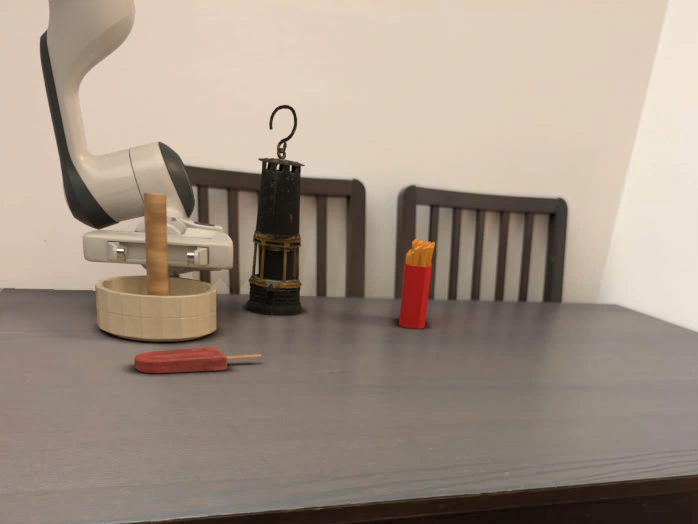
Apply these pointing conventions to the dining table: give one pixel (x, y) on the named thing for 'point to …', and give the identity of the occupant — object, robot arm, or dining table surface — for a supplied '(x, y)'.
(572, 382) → the dining table surface
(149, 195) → the stirring stick
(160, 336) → the bowl
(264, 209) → the lantern
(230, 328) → the dining table surface
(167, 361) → the popsicle
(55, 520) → the dining table surface
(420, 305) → the french fries
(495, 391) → the dining table surface
